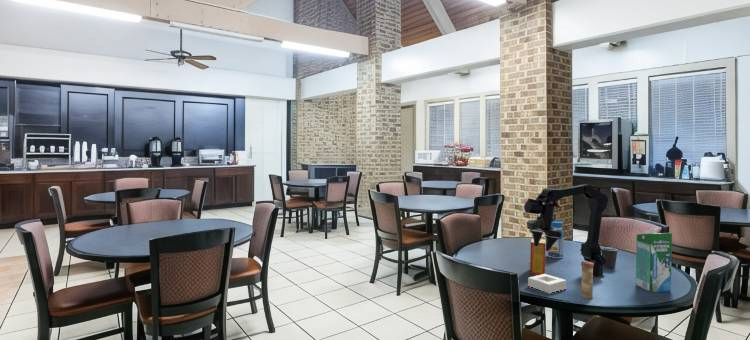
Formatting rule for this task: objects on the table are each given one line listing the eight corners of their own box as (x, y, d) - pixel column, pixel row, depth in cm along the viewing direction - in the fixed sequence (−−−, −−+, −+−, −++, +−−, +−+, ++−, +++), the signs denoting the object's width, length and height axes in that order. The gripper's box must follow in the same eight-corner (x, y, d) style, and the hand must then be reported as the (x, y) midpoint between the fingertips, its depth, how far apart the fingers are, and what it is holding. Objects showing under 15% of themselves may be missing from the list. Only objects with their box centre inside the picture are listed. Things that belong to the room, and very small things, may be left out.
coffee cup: (620, 269, 203) (621, 249, 202) (603, 268, 204) (603, 249, 204) (614, 265, 211) (614, 246, 210) (597, 264, 212) (597, 245, 212)
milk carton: (655, 284, 180) (656, 228, 179) (671, 291, 171) (672, 232, 170) (635, 285, 180) (636, 229, 179) (650, 292, 171) (651, 233, 170)
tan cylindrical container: (590, 295, 168) (590, 261, 167) (595, 299, 164) (595, 264, 163) (578, 295, 168) (579, 261, 168) (583, 299, 164) (584, 264, 163)
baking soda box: (531, 268, 206) (531, 237, 205) (545, 270, 203) (545, 238, 202) (530, 274, 197) (530, 241, 196) (544, 275, 195) (545, 242, 194)
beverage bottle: (566, 258, 224) (566, 222, 223) (551, 258, 224) (551, 222, 223) (559, 254, 232) (560, 220, 231) (545, 254, 233) (545, 220, 232)
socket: (544, 282, 185) (544, 273, 185) (566, 289, 175) (566, 280, 175) (528, 286, 180) (528, 277, 179) (549, 294, 170) (549, 284, 170)
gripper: (520, 210, 196) (515, 242, 197) (542, 216, 178) (536, 251, 178) (541, 213, 198) (536, 244, 199) (564, 219, 180) (559, 254, 180)
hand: (541, 248), depth 189 cm, fingers open, 9 cm apart
